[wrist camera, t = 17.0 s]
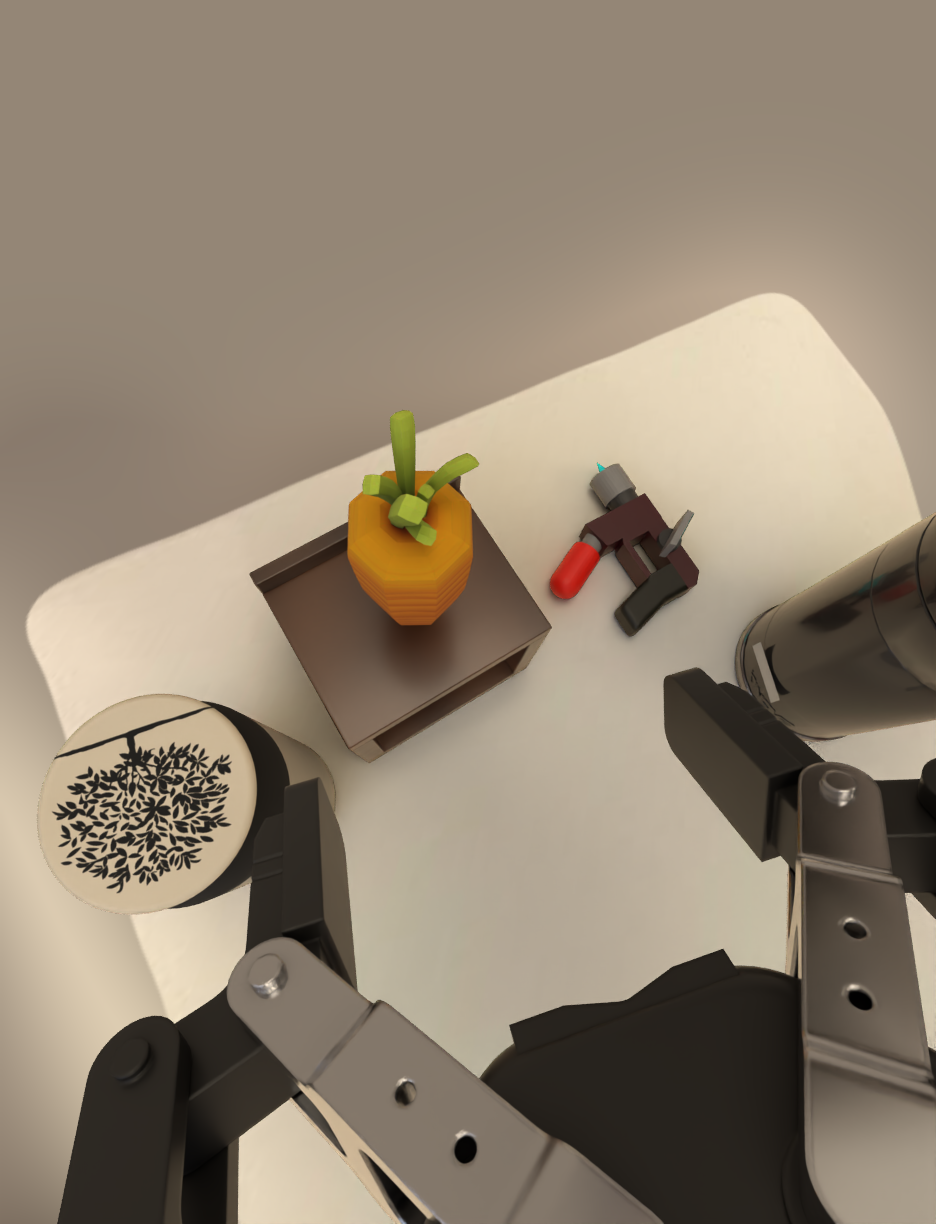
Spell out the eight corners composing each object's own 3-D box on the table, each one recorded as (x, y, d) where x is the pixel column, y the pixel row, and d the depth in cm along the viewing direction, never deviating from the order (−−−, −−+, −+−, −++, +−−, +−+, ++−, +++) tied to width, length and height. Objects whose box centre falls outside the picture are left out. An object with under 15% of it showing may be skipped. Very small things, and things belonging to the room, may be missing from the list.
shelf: (449, 548, 45) (453, 465, 34) (526, 667, 43) (557, 619, 32) (296, 632, 43) (248, 572, 32) (369, 763, 41) (344, 747, 30)
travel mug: (344, 856, 39) (273, 894, 22) (211, 885, 38) (27, 947, 21) (327, 726, 41) (249, 668, 24) (200, 751, 40) (26, 708, 23)
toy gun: (611, 461, 48) (630, 424, 43) (705, 595, 45) (736, 570, 40) (500, 518, 46) (507, 485, 41) (590, 660, 43) (608, 643, 39)
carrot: (392, 553, 34) (360, 369, 20) (479, 586, 34) (510, 422, 20) (354, 637, 33) (290, 503, 18) (444, 672, 32) (452, 563, 18)
